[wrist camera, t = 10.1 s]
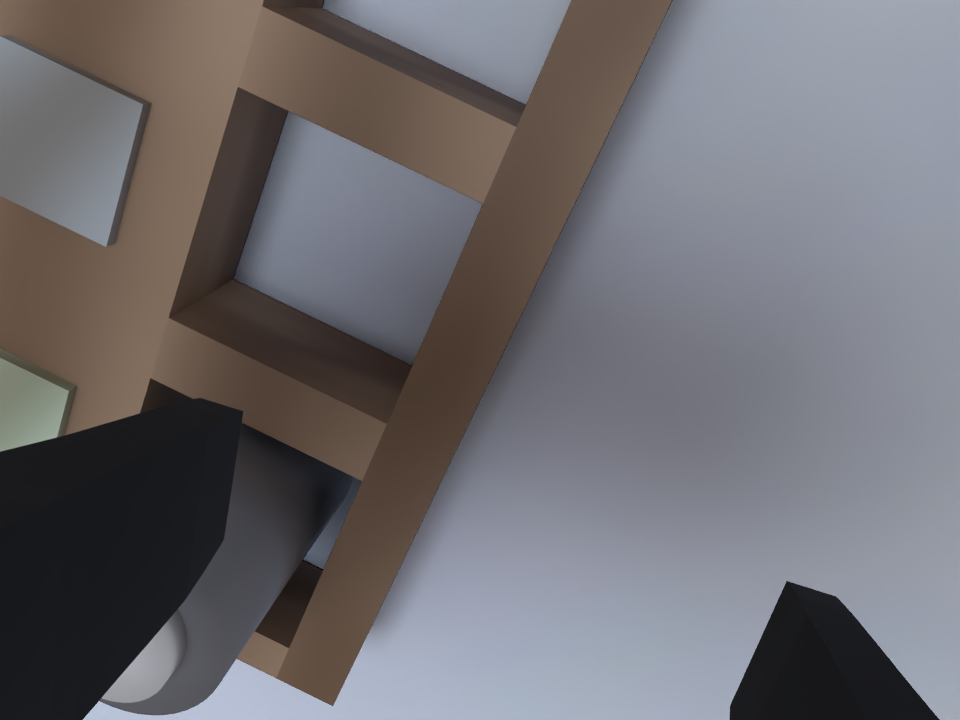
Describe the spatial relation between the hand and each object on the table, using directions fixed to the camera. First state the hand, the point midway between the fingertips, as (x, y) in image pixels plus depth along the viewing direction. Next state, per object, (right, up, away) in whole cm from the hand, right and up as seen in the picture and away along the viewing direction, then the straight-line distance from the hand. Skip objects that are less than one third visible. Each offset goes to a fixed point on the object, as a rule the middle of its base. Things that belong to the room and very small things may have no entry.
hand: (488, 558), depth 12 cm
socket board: (-5, +6, +9) cm, 12 cm away
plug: (-5, 0, +11) cm, 12 cm away
